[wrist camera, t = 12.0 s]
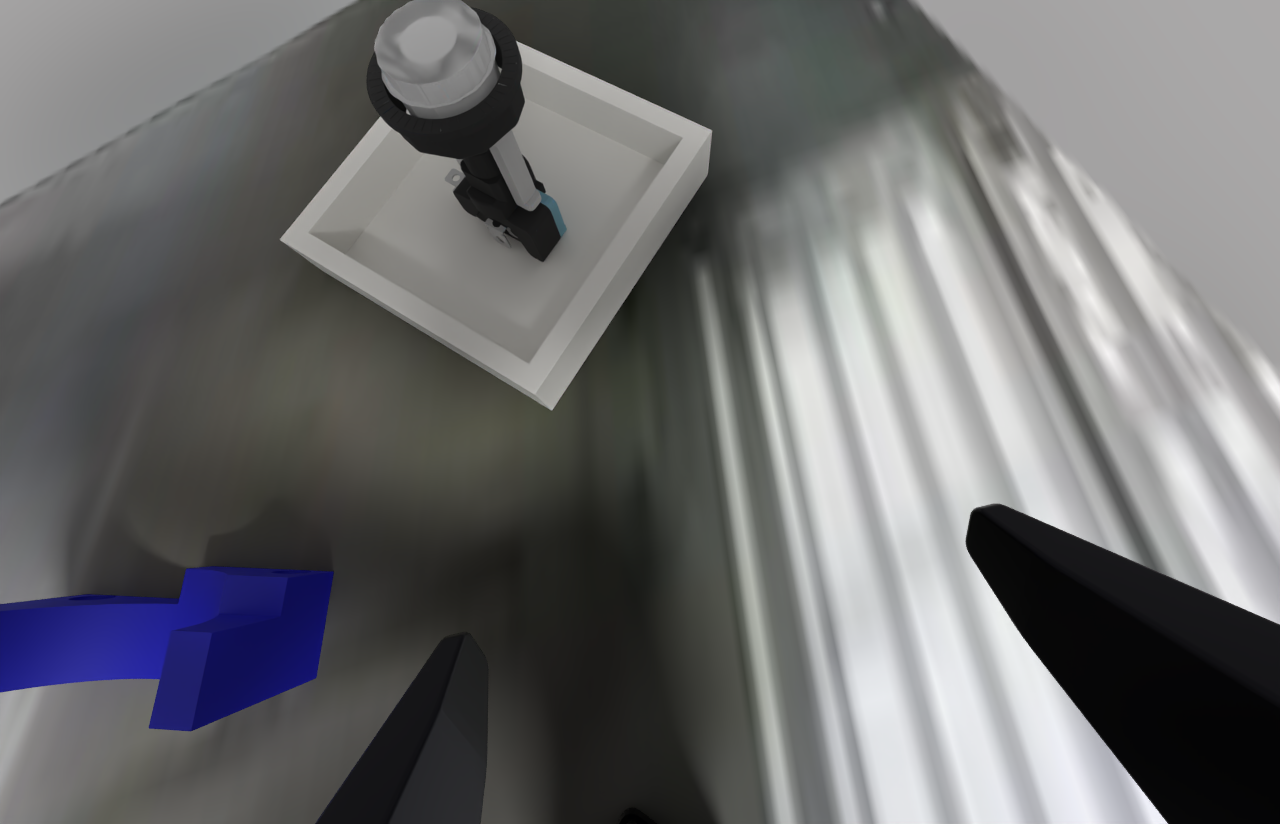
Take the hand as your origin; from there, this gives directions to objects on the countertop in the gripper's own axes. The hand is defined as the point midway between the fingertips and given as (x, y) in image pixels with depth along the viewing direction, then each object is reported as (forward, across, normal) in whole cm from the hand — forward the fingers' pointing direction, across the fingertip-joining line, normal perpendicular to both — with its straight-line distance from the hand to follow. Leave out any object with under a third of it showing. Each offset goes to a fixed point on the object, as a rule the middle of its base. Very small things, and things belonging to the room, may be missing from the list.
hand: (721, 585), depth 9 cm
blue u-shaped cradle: (+12, +23, +8) cm, 27 cm away
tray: (+23, +5, -3) cm, 23 cm away
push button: (+22, +5, -4) cm, 23 cm away
